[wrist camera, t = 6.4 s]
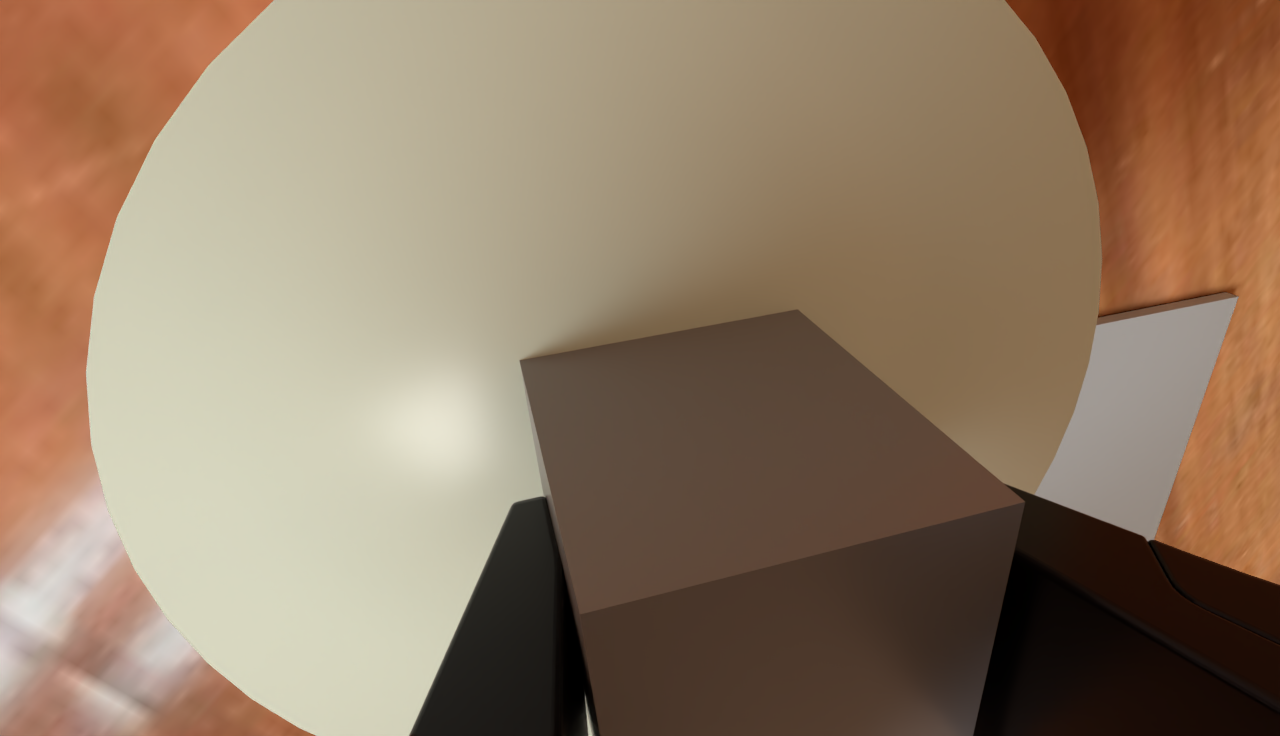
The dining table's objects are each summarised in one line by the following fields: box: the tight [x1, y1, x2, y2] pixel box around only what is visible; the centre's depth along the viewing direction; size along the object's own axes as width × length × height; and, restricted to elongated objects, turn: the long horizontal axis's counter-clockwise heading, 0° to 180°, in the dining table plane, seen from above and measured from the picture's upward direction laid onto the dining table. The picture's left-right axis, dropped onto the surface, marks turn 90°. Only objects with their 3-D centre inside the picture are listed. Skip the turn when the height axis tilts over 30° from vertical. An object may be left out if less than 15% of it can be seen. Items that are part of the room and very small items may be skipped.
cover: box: [86, 0, 1102, 736], centre depth 8 cm, size 13×13×5 cm
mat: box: [1034, 292, 1238, 541], centre depth 25 cm, size 15×15×1 cm
